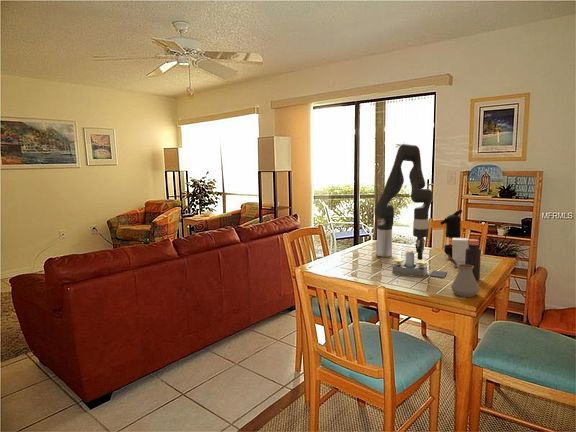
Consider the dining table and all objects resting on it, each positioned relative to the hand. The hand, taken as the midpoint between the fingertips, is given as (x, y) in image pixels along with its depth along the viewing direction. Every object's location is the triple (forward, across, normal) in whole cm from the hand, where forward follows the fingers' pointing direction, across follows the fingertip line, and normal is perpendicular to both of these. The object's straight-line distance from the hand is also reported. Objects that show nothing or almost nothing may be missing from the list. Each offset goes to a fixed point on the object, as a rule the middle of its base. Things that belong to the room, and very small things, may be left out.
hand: (419, 259), depth 197 cm
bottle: (+8, -2, +25) cm, 26 cm away
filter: (+8, -41, +10) cm, 43 cm away
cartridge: (+8, 0, -5) cm, 9 cm away
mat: (+8, -3, +9) cm, 12 cm away
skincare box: (+8, -26, +17) cm, 32 cm away
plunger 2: (+6, 0, +1) cm, 6 cm away
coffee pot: (+8, +19, +21) cm, 29 cm away
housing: (+8, 0, -5) cm, 9 cm away
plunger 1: (+6, 0, -11) cm, 13 cm away
